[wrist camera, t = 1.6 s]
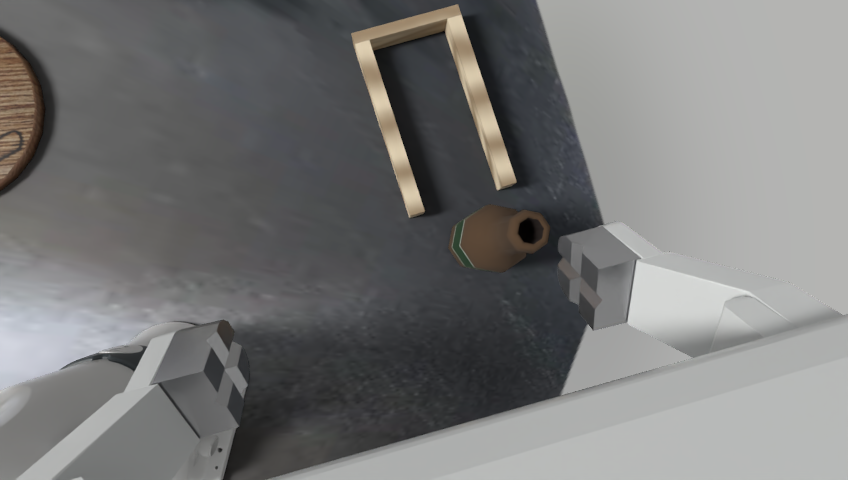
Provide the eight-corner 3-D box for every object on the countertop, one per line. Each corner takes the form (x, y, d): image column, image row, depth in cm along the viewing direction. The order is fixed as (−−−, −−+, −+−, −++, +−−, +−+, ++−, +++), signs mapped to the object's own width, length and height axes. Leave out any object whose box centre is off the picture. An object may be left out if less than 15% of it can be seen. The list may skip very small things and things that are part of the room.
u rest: (510, 186, 58) (516, 182, 56) (409, 218, 57) (410, 215, 54) (454, 17, 59) (457, 4, 56) (353, 45, 58) (351, 33, 55)
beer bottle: (512, 235, 58) (595, 217, 34) (482, 281, 58) (545, 296, 34) (466, 204, 58) (517, 165, 34) (435, 250, 57) (466, 244, 33)
